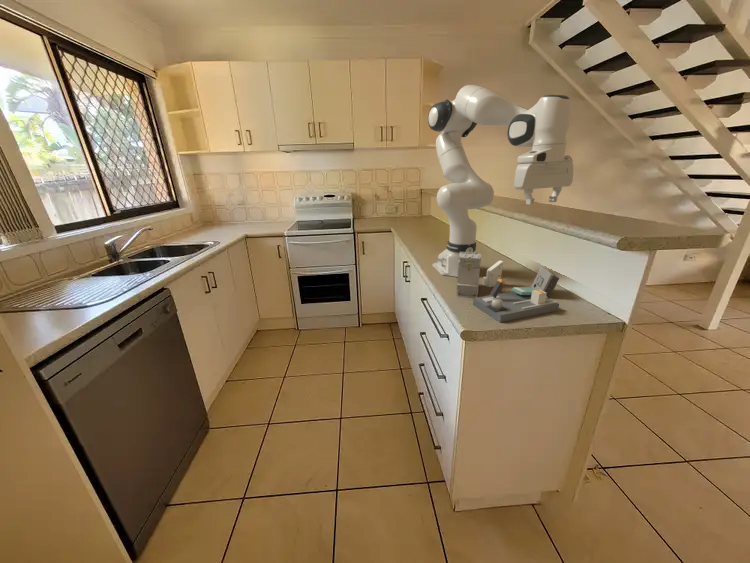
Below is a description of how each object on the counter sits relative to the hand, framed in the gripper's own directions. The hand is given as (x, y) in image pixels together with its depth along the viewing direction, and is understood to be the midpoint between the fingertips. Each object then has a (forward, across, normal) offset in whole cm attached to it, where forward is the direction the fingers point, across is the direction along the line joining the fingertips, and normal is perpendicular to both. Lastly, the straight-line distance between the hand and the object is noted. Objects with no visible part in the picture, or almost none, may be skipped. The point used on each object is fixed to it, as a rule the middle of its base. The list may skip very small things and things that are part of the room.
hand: (541, 203), depth 97 cm
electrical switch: (+34, -11, -4) cm, 36 cm away
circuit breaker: (+34, +12, -18) cm, 40 cm away
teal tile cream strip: (+30, 0, -1) cm, 30 cm away
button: (+31, +17, +3) cm, 36 cm away
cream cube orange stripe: (+32, +2, +6) cm, 32 cm away
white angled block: (+34, 0, -19) cm, 39 cm away
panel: (+34, +7, +1) cm, 35 cm away
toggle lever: (+30, +14, -2) cm, 33 cm away
